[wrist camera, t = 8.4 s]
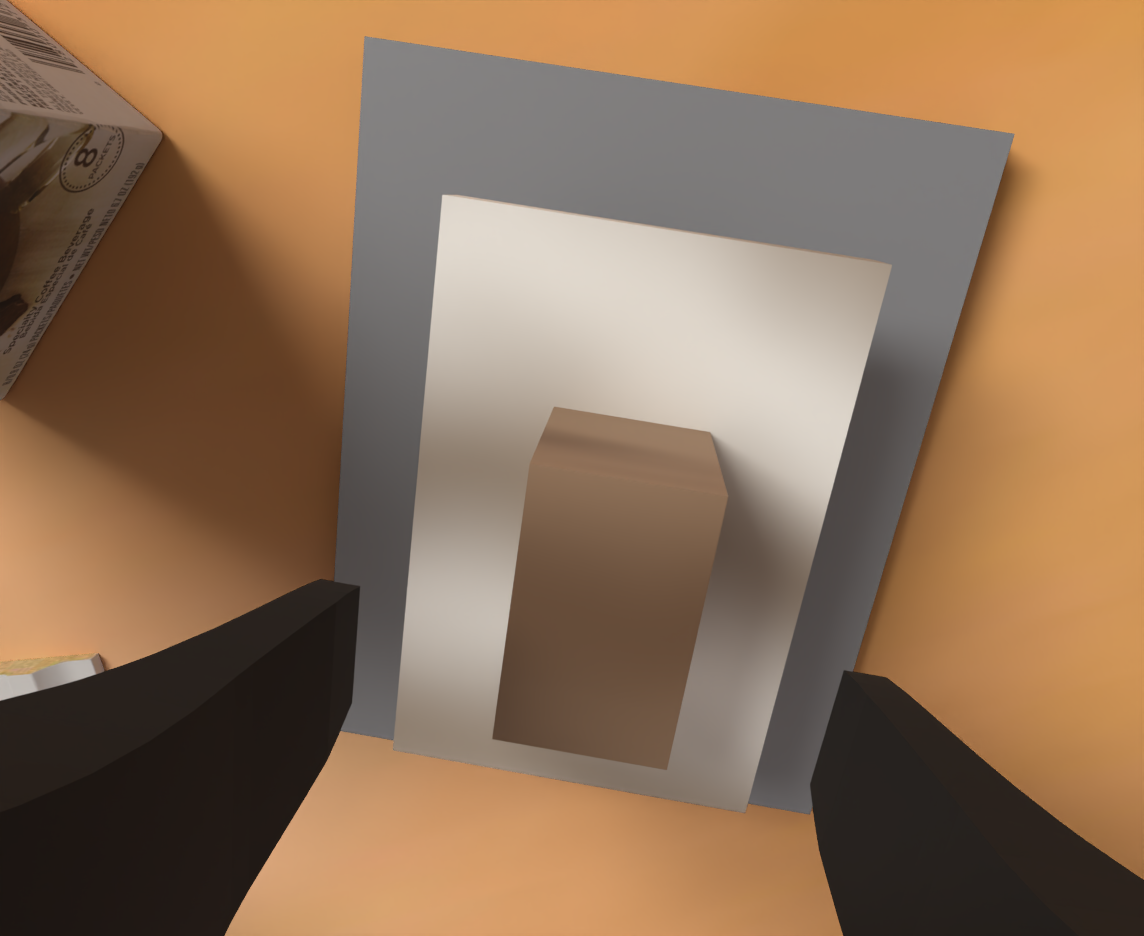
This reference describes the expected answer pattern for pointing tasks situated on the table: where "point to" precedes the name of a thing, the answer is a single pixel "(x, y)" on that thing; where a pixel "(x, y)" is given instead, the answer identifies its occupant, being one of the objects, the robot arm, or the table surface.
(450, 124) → the peg stand
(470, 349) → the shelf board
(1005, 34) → the table surface
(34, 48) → the coffee box
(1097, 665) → the table surface
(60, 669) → the baseboard molding
